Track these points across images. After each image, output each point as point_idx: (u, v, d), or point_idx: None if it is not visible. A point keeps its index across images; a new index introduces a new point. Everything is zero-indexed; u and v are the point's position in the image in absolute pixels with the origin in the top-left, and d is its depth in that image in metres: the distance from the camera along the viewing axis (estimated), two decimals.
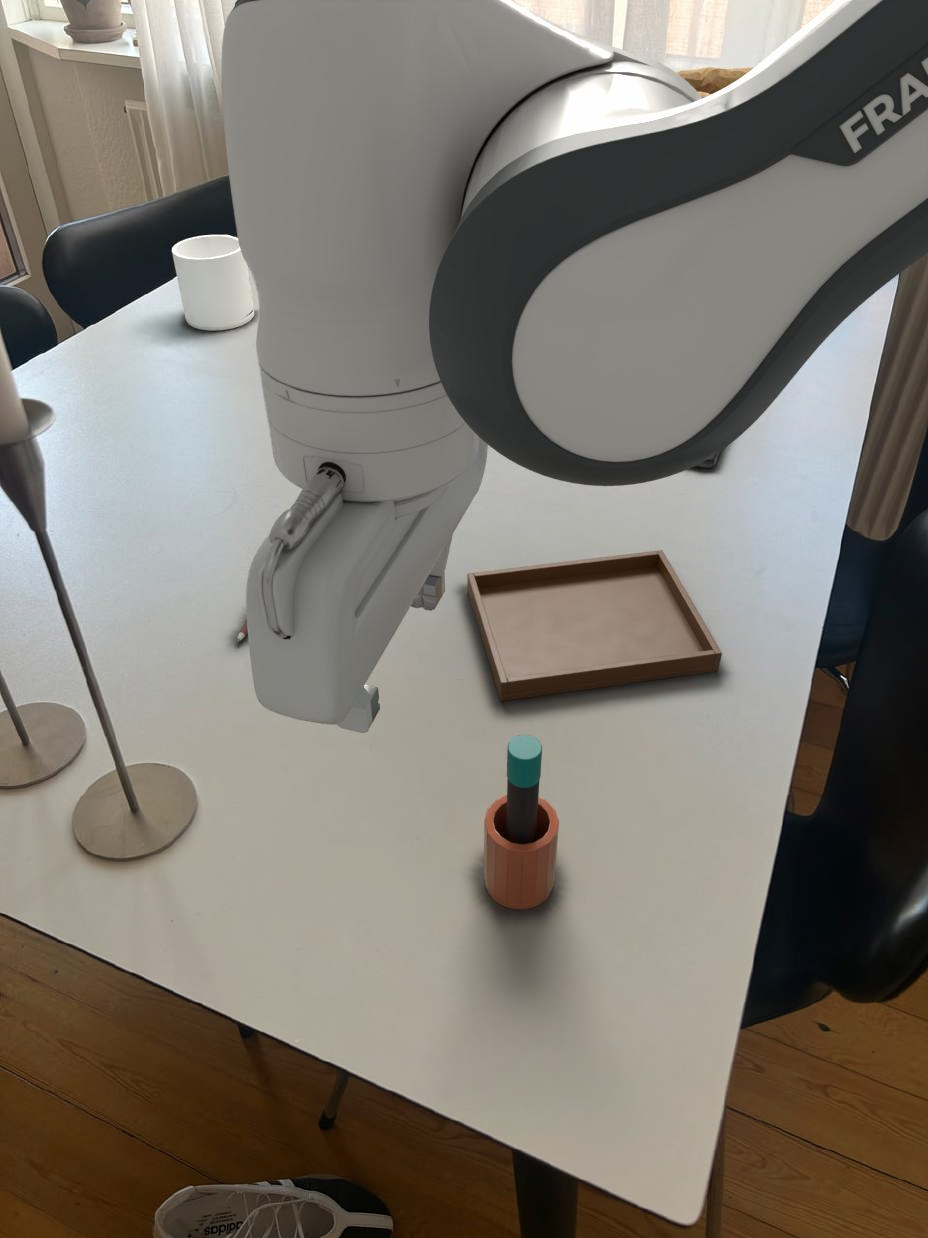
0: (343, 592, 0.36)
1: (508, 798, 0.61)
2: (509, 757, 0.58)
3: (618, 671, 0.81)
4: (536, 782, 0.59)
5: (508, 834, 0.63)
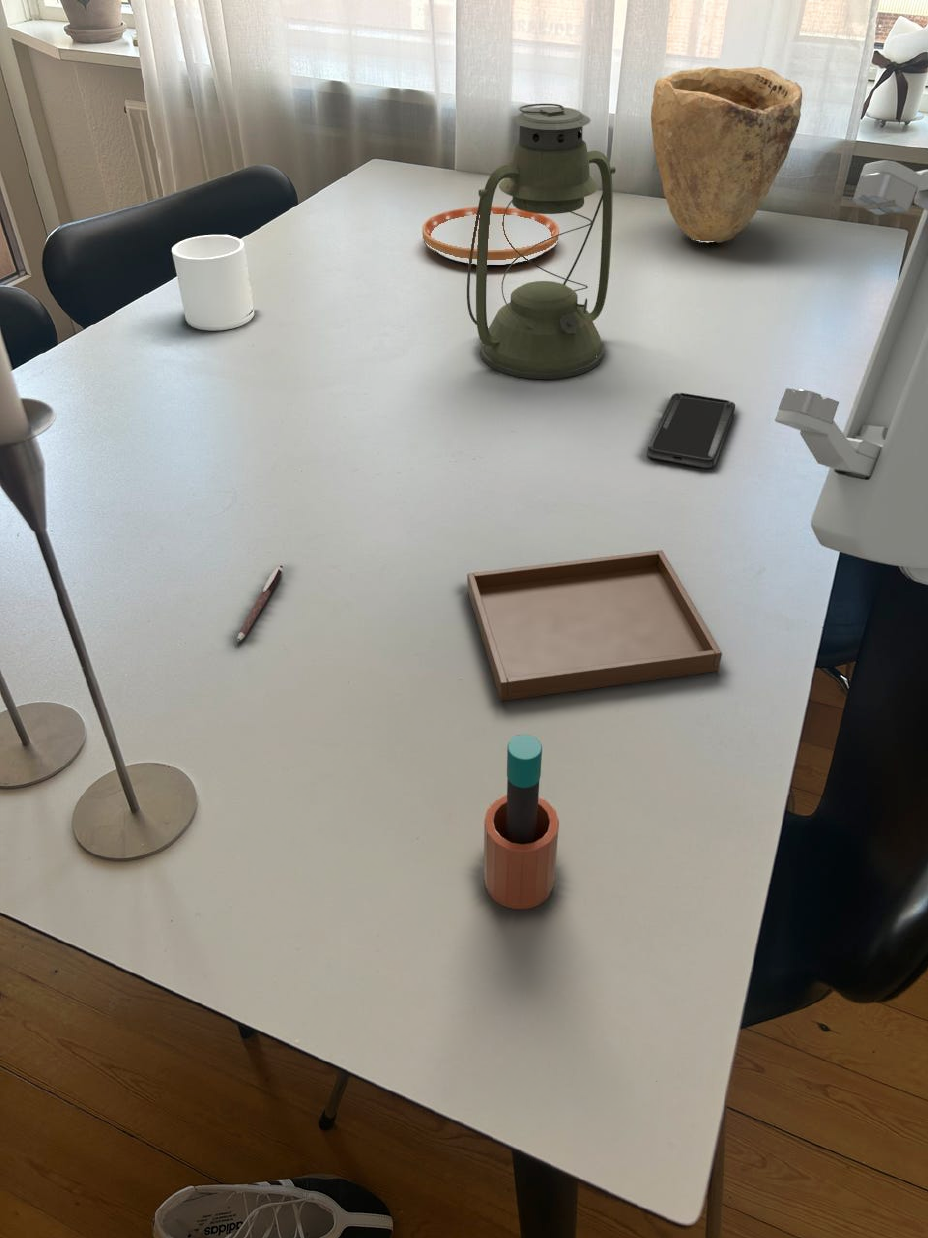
0: None
1: (508, 798, 0.61)
2: (509, 757, 0.58)
3: (618, 671, 0.81)
4: (536, 782, 0.59)
5: (508, 834, 0.63)
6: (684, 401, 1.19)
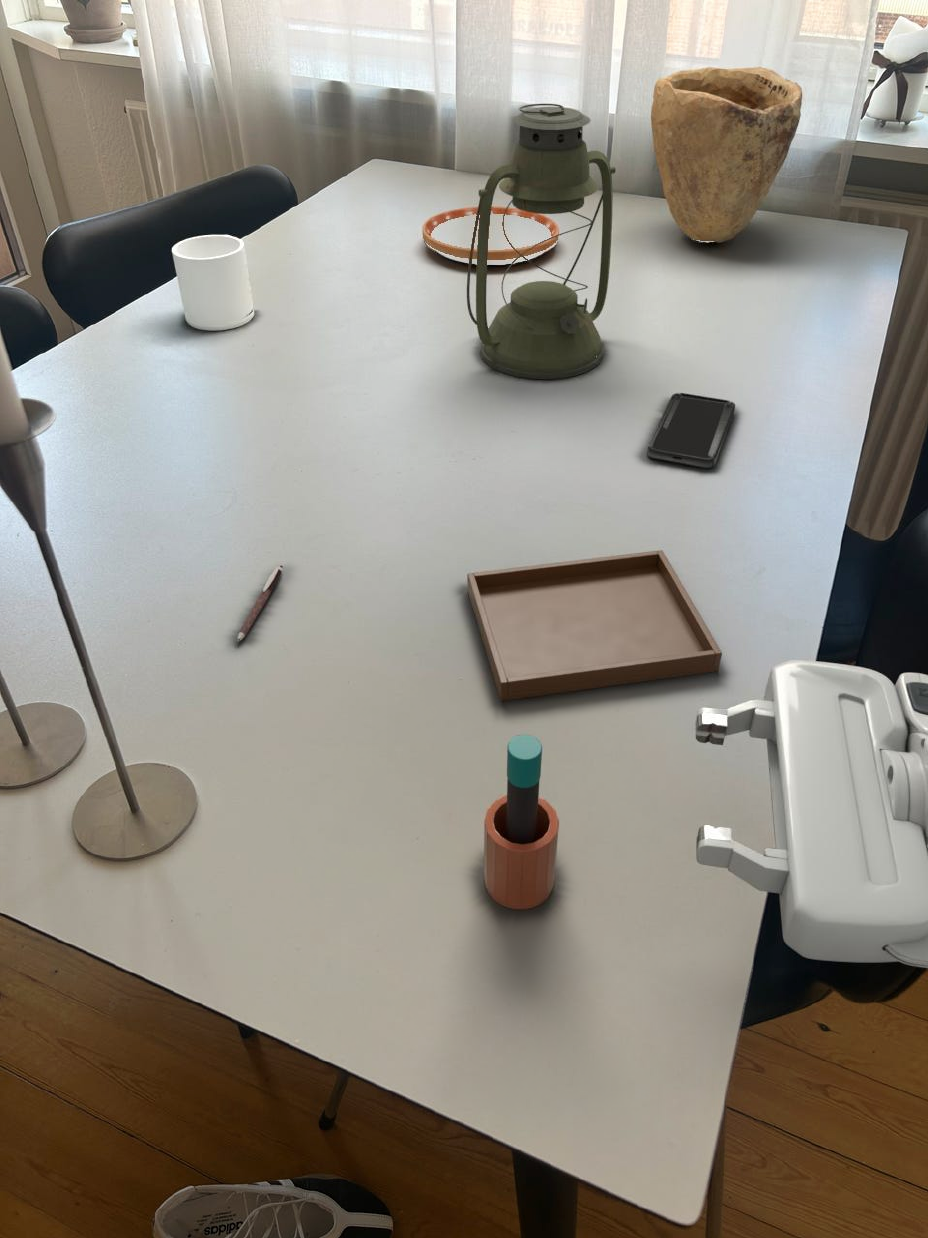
0: None
1: (508, 798, 0.61)
2: (509, 757, 0.58)
3: (618, 671, 0.81)
4: (536, 782, 0.59)
5: (508, 834, 0.63)
6: (684, 401, 1.19)
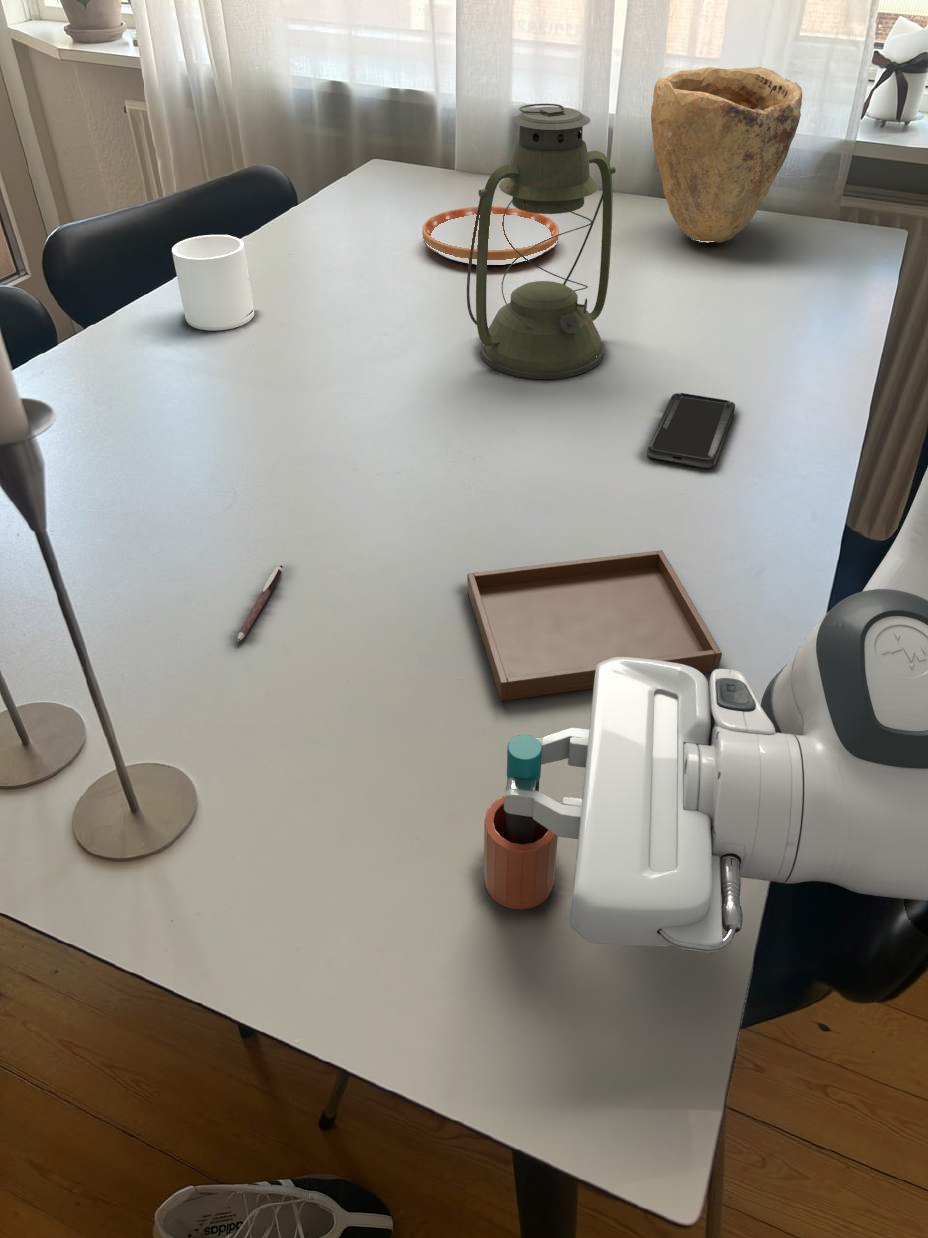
0: None
1: None
2: (509, 757, 0.58)
3: None
4: (536, 782, 0.59)
5: (508, 834, 0.63)
6: (684, 401, 1.19)
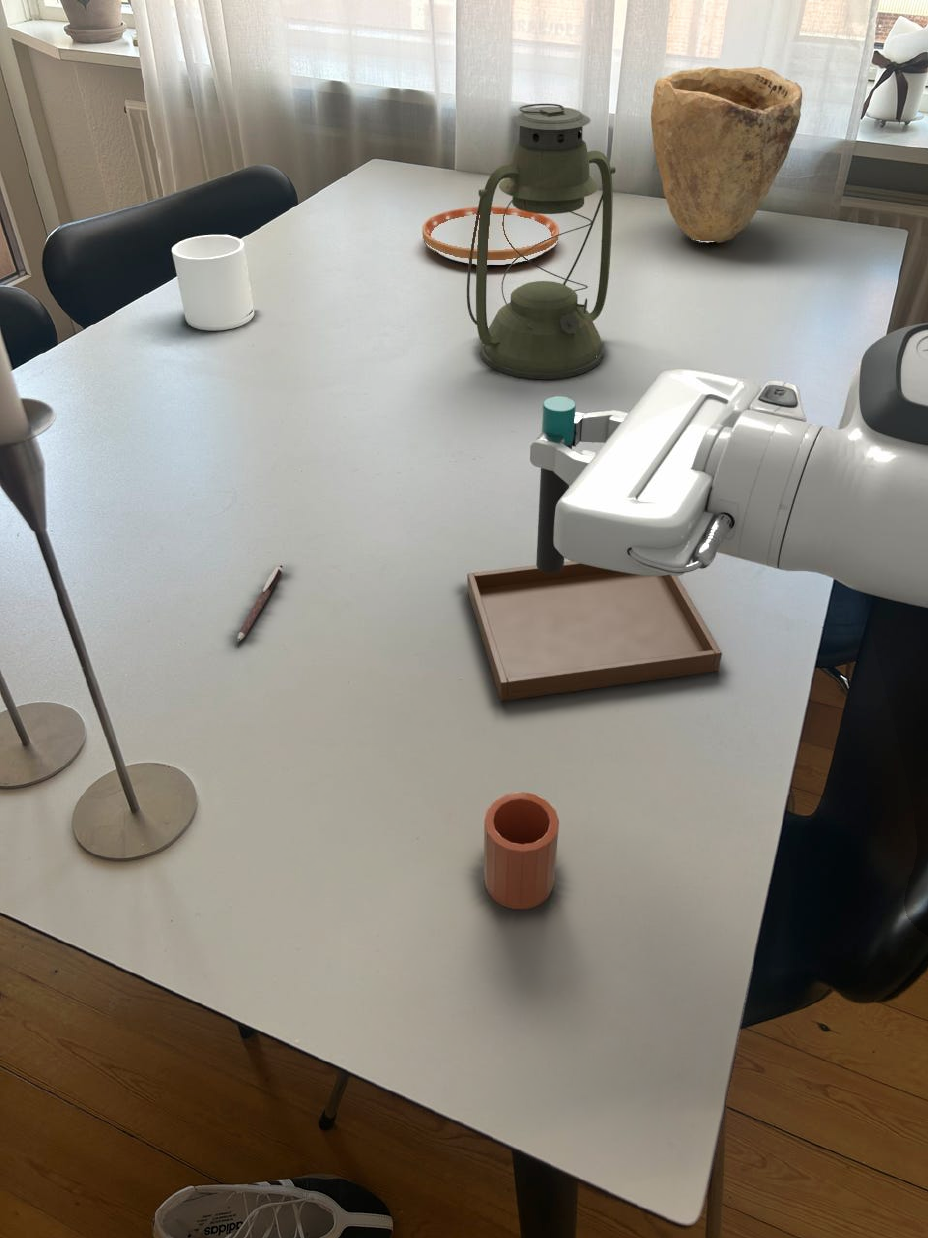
0: None
1: None
2: (543, 410, 0.62)
3: (618, 671, 0.81)
4: (566, 444, 0.63)
5: (539, 507, 0.67)
6: None
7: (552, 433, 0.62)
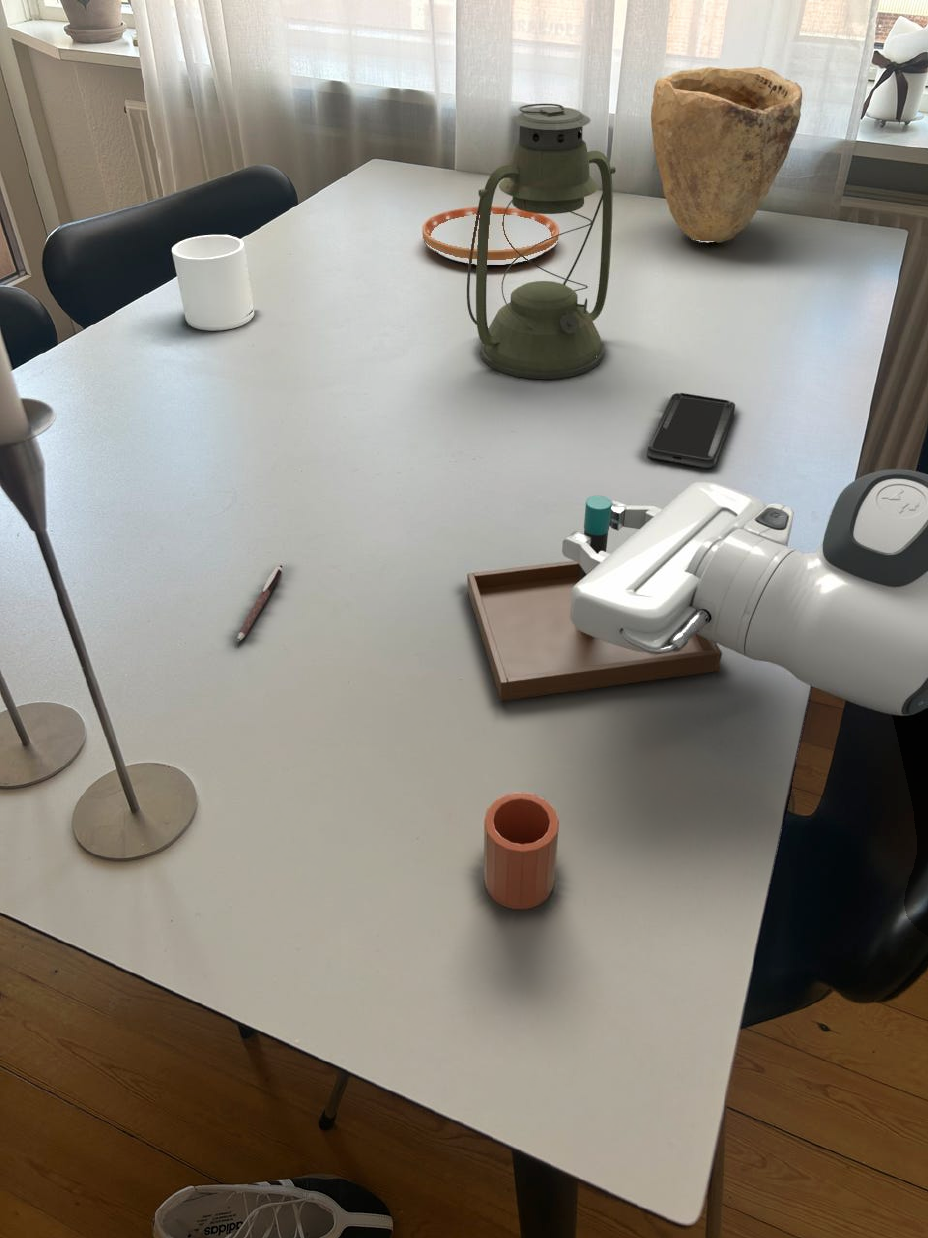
0: None
1: None
2: None
3: (618, 671, 0.81)
4: (601, 533, 0.80)
5: (580, 578, 0.84)
6: (684, 401, 1.19)
7: (590, 524, 0.79)
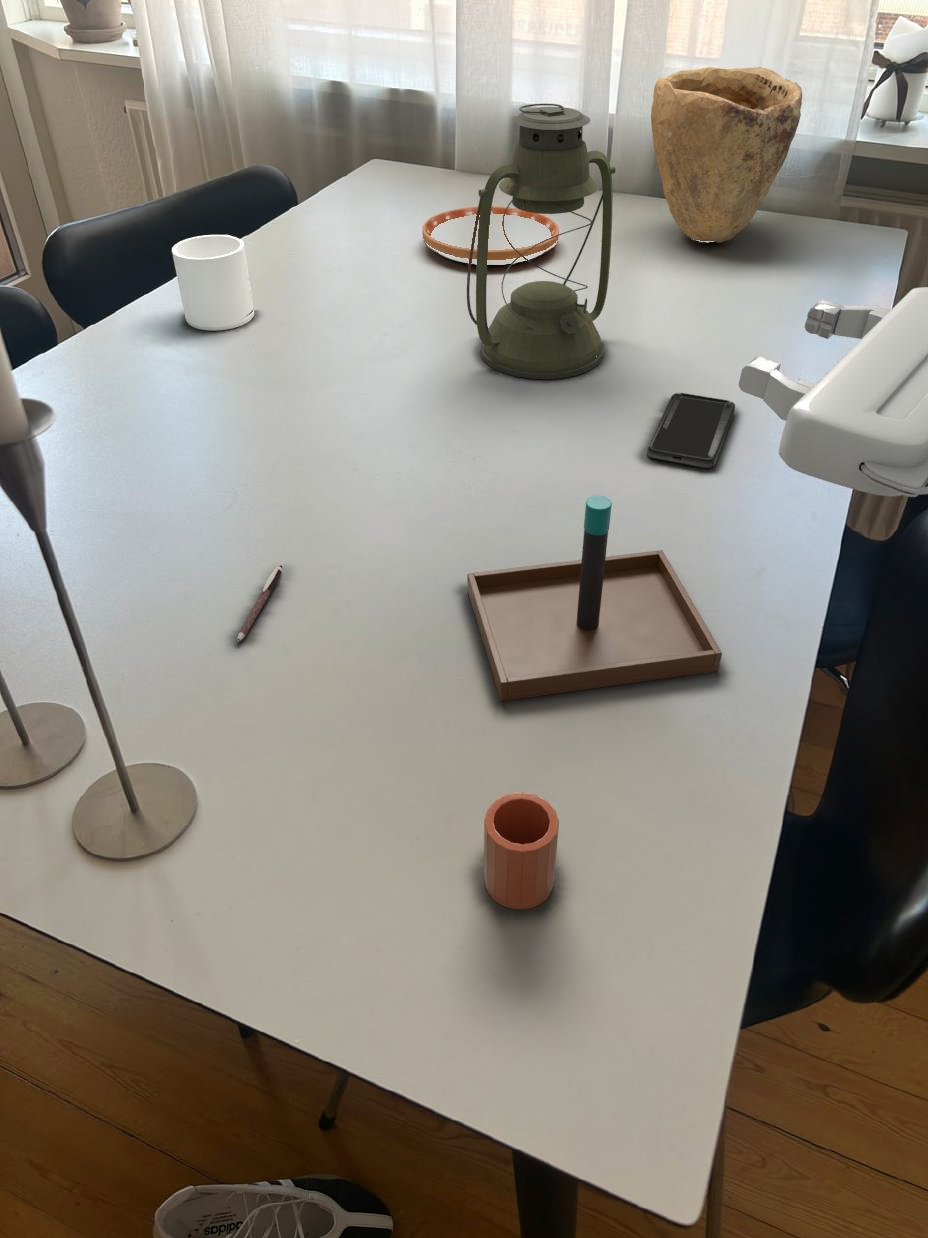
0: None
1: (583, 545, 0.82)
2: None
3: (618, 671, 0.81)
4: (601, 533, 0.80)
5: (580, 578, 0.84)
6: (684, 401, 1.19)
7: (590, 524, 0.79)
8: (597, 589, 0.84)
